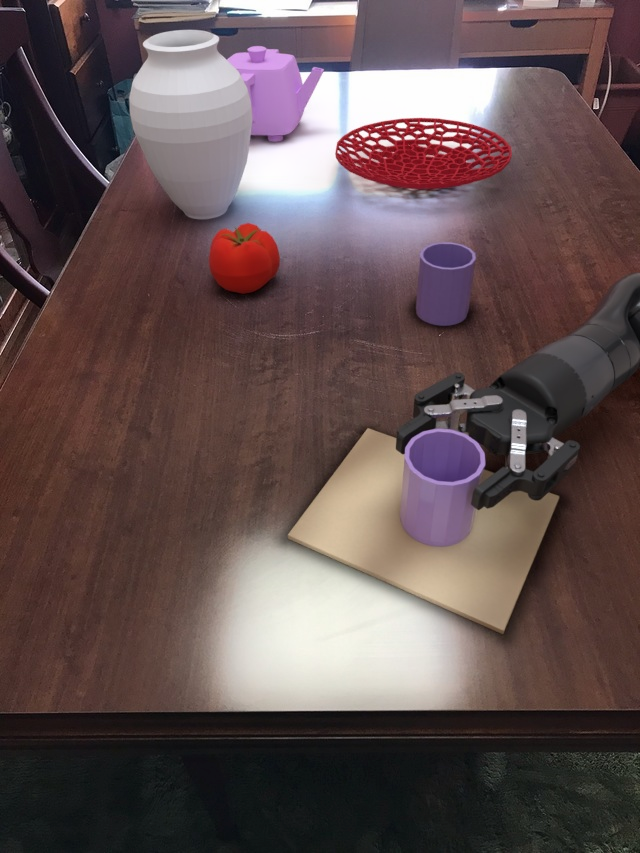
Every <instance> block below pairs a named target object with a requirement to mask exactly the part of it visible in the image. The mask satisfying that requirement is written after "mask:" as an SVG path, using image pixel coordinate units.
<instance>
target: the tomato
mask: <svg viewBox="0 0 640 853" xmlns="http://www.w3.org/2000/svg"><path fill="white" fill-rule="evenodd" d="M234 229H235V230H230V229H229V228H222V229H219V230H218V232H217V233H215V235H214V237H213V238H212V240H211V243H210V250H209V256H208V265H209V270H210V274H211V275H212V277H213V279H214V280H215V282H216V283H217V285H218V286H220V287H221V288H223V289H224V290H226V291H228V292H234V293H237V294H242V295H245V294H250V293H253V292H254V293H255V292H256V291H258V290H260V289H262V287H264V286H265V285H266V284H267V283H268V282H270V280H273V278H274V277H276V275H277V273H278V270H279V268H280V265H281V264H280V262H281V261H280V260H281V257H280V251H279V248H278V245H277V242H276V240H275V239H274V237H273V236H272V235H271V234H270V233H269V232H268V231H266V230H262V228H259V226H258V225H257V224H254V223H250V222H247V223H243V224H240V225H239V226H238V227H236V226H234Z"/></svg>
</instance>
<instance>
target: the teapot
mask: <svg viewBox="0 0 640 853" xmlns="http://www.w3.org/2000/svg"><path fill="white" fill-rule="evenodd" d="M226 60H227V61H228V62H229V63H230V64H231V65H232V66H233V67H234V68H236V69H237V70H238V72H239V73H240V75H241V77H242V79H243V81H244V83H245V85H246V87H247V89H248V93H249V97H250V100H251V108H252V127H251V136H267V140H268V141H269V142H272V143H273V142H275V143H276V142H281V141H283V140H284V136H286V135H290V134H291V133H292V132H293V131H294V130H295V129H296V128H297V127H298V125H299V124H300V122H301V120H302V117H303V115H304V112H305V108H306V107H307V105H308V103H309V102H310V99H311V98H312V95H313V93H314V91H315V89H316V87H317V86H318V83H319V81H320V79H321V78H322V76H323V73H324V71H325V69H324V68H321V67H316V66H313V67H312V68H311V72H310V73H309V75H308V76H307V77H306V79H305V81H304V82H303V79H302V76H301V71H300V69H299V66H298V63H297V62H298V61H297V59H296V57H295V56H294V55H293V54H289V53H280V51H279V49H276V48H267V47H265V46H263V45H262V46H261V45H254V46H250V47H249V48H247V51H245V52H244V51H243V52H236V53H234V54H231V56H229V57H228V58H227V59H226Z"/></svg>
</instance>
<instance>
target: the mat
mask: <svg viewBox="0 0 640 853" xmlns="http://www.w3.org/2000/svg"><path fill="white" fill-rule="evenodd" d="M404 455H405V454H401V453H400V452H398V451H397V450H396V437H394V436H391V435H388V434H386V433H383V432H381V431H376V430H374V429H372V428H368V427H367V428H366V430H365V431H364V433H363V434H362V435H361V436H360V438H359V439H358V440H357V442H356V443H355V444H354V446H353V447H352V449H351V450H350V451H349V453H347V454H346V457H344V459H343V461H342V462H341V463H340V464H339V466H338V467H337V468H336V469H335V471H334V472H333V474H332V475H331V476H330V477H329V479H328V480H327V481H326V483H325V484H324V486H323V487H322V488H321V490H320V491H319V493H318V494H316V496H315V498H314V499H313V500H312V502H311V503H310V504H309V506H308V507H307V508H306V510H305V511H304V512H303V514H302V515H301V516H300V518H299V519H298V520H297V521H296V523H295V525H294V526H293V527H292V529H291V530H290V531H289V532H288V534H287V539H288V540H290V541H293V542H295V543H297V544H299V545H301V546H304V547H306V548H308V549H310V550H313V551H315V552H317V553H319V554H321V555H323V556H327V557H328V558H331V559H332V560H334V561H337V562H339V563H342V564H344V565H346V566H348V567H350V568H353V569H355V570H358V571H360V572H362V573H364V574H366V575H368V576H370V577H373V578H375V579H378V580H380V581H382V582H384V583H386V584H389V585H391V586H393V587H395V588H398V589H400V590H402V591H405V592H407V593H408V594H411V595H413V596H416V597H418V598H421V599H422V600H424V601H427V602H429V603H431V604H434V605H436V606H438V607H441V608H443V609H445V610H447V611H449V612H452V613H454V614H456V615H458V616H461V617H463V618H465V619H467V620H470V621H472V622H474V623H477V624H478V625H481V626H483V627H485V628H488V629H490V630H492V631H494V632H497V633H499V634H501V635H504V633H505V631H506V629H507V626H508V624H509V621H510V620H511V617H512V614H513V612H514V609H515V607H516V604H517V602H518V599H519V597H520V596H521V592H522V590H523V587H524V585H525V583H526V580H527V578H528V575H529V573H530V570H531V568H532V566H533V563H534V561H535V559H536V556H537V555H538V554H537V553H538V551H539V549H540V547H541V544H542V541H543V539H544V536H545V534H546V532H547V529H548V527H549V525H550V522H551V519H552V517H553V514H554V512H555V510H556V507H557V506H558V503H559V500H560V495H557V494H554V493H551V492H550V491H549V492H548V493H547V494H546V495H545V496H544V497H543V498H542V499H541V500H538V501H535V500H532V499H530V498H529V496H528V493H525V492H522V491H518V492H512V493H510V494H509V495H508V496H507V497H505V498H504V499H503V500H501V501H500V502H499V503H498V504H496V505H495V506H494V507H492V508H488V509H487V508H486V507H483V508H482V509H480V510H476V515H475V520H474V523H473V527H472V529H471V532H470V533H469V535H468V536H467V537H466V538H465V539H463V540H462V541H460V542H459V543H457V544H454V545H451V546H444V547H436V546H430V545H426V544H423V543H421V542H418V541H417V540H415V539H413V538H412V537H411V536H410V535H409V534H408V533H407V532H406V531H405V530H404V528H403V526H402V524H401V521H400V505H401V492H402V480H403V468H404ZM494 473H495V472H493V471H490V470H488V469H484V474H483V479H482V482H484V481H485V480H486V479H488V478H489V477H490V476H492V475H493V474H494Z"/></svg>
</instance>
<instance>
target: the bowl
mask: <svg viewBox="0 0 640 853" xmlns="http://www.w3.org/2000/svg"><path fill="white" fill-rule="evenodd" d="M423 123H432V124H428V125H426V124H423ZM397 124H405V125H406V127H398V126H397ZM446 125H449V126H456V127H447V126H446ZM460 127H462V128H460ZM464 128H466V129H464ZM438 129H441V130H442V131H441V130H438ZM425 130H433V133H428V132H427V133H426V132H425ZM473 130H474V131H473ZM476 131H477V132H476ZM360 132H365V133H367V135H368V136H367V135H366V136H365V137H364V136H362V134H361V133H360ZM416 132H419V133H416ZM479 132H480V133H479ZM447 133H456V134H455V135H453V136H444V135H445V134H447ZM373 134H377V135H379V136H378V137H374V136H372V135H373ZM484 134H485V135H484ZM486 135H487V136H486ZM407 136H409V137H410V136H411V137H412V139H411V138H410V139H409V138H408V139H406V138H405V137H407ZM488 136H489V137H488ZM351 137H352V138H351ZM393 137H397V138H399V139H395V138H393ZM357 138H358V139H359V140H358V139H357ZM423 138H425V139H423ZM493 139H495V140H497V141H495V140H493ZM369 141H371V142H373V143H375V144H369V143H367V142H369ZM380 141H387V142H389V143H391V145H388V146H385V145H383V144H380ZM431 141H435V142H439V143H432V142H431ZM445 142H447V143H448V142H454V143H457V144H459V145H458V146H456V147H450V146H447V145H444V144H443V143H445ZM467 144H468V145H469V146H470V147H466V146H463V145H467ZM500 145H501V146H500ZM342 149H343V150H342ZM351 149H352V150H351ZM369 150H370V151H369ZM475 150H480V151H477V152H474V151H475ZM360 152H362V153H363V154H364V155H365V156H367V158H366V157H363V156H361V155H360V154H359V153H360ZM440 152H442V153H440ZM443 153H445V154H443ZM494 153H500V154H498V155H495V156H494V155H491V154H494ZM334 154H335V159H336V160H337V162H338V163H339V165H340V166H342V168H344V169H345V170H346V171H348V172H349V173H350V174H351V173H352V174H353V175H355V176H359V177H360V178H362V179H365V180H369V181H372V182H375V183H377V184H380V185H381V184H382V185H386V186H390V187H395V188H399V189H400V188H402V189H408V190H409V189H410V190H437V189H438V190H439V189H448V188H455V187H459V186H465V185H469V184H472V183H477V182H480V181H483V180H486V179H489V178H491V177H494V176H495V175H496V174H499V173H500V172H502V171H503V170H504V169H505V168H506V167H508V165H509V164H510V163H511V159H512V155H513V154H512V147H511V145H510V144H509V143H508V142H507V141H506V140H505V138H503V137H501V135H499V134H497V133H496V132H494V131H492V130H489V129H487V128H486V127H482V126H479V125H475V124H473V123H468V122H464V121H459V120H451V119H445V118H437V117H435V118H433V117H410V118H409V117H408V118H407V117H406V118H396V119H390V120H382V121H378V122H374V123H369V124H365V125H362V126H360V127H357V128H355V129H352V130H350V131H349V132H347V133H346V134H344V135H343V136H341V138H340V139H339V140H338V141H336V148H335V152H334ZM505 154H508V155H505ZM485 155H486V156H485ZM504 155H505V156H504ZM352 156H354V157H355V158H353V157H352ZM481 156H483V157H481ZM470 160H471V162H469V161H470ZM472 160H474V161H472ZM477 166H481V167H478V168H475V167H477Z"/></svg>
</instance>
